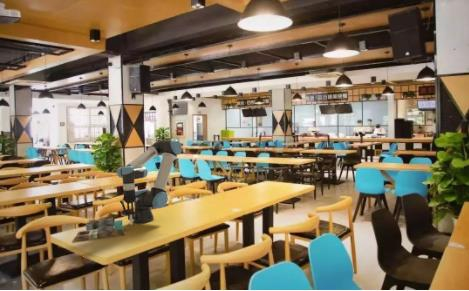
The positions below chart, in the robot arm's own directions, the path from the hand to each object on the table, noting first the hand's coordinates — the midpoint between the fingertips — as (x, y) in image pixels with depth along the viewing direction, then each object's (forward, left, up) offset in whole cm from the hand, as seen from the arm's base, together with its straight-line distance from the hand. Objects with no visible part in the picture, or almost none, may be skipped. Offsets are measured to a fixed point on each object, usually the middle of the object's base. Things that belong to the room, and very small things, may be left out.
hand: (131, 224), depth 239 cm
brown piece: (+19, 0, -5) cm, 19 cm away
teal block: (+8, 0, -2) cm, 9 cm away
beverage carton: (+21, -20, -6) cm, 29 cm away
